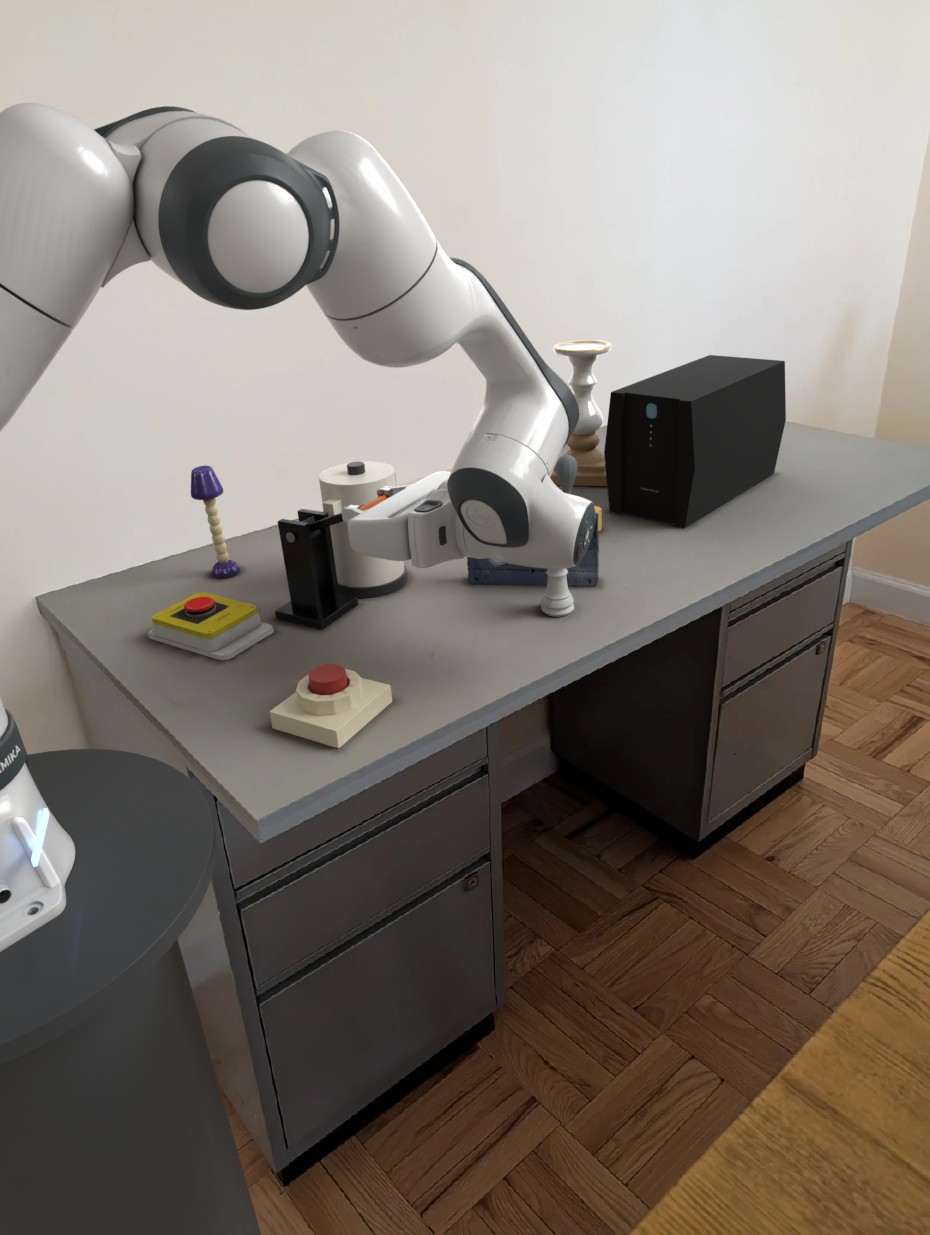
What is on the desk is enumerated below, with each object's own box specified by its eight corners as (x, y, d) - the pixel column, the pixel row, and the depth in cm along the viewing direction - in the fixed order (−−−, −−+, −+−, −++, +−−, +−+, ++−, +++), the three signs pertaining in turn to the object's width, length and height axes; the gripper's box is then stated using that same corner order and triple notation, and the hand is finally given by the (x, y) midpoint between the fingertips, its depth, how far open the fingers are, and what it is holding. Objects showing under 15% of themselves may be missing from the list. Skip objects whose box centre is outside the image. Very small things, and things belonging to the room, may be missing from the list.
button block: (338, 748, 93) (333, 716, 91) (272, 728, 97) (266, 697, 95) (392, 701, 100) (389, 670, 98) (328, 684, 104) (324, 654, 103)
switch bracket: (358, 604, 123) (346, 510, 117) (322, 629, 117) (307, 531, 111) (312, 595, 127) (298, 503, 121) (275, 618, 121) (258, 523, 115)
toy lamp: (228, 581, 134) (206, 473, 126) (202, 578, 135) (179, 472, 128) (245, 568, 137) (225, 463, 130) (220, 565, 139) (199, 462, 132)
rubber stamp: (533, 525, 146) (530, 453, 141) (557, 515, 150) (556, 445, 144) (578, 539, 139) (578, 465, 134) (603, 529, 143) (603, 456, 137)
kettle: (373, 607, 122) (358, 483, 114) (310, 594, 127) (291, 475, 119) (428, 568, 133) (418, 452, 125) (368, 557, 138) (354, 445, 130)
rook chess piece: (566, 620, 115) (565, 563, 112) (535, 614, 117) (533, 558, 114) (580, 606, 119) (579, 550, 115) (549, 600, 121) (548, 545, 117)
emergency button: (192, 580, 123) (271, 600, 116) (198, 609, 125) (277, 630, 118) (137, 607, 117) (218, 630, 109) (145, 637, 119) (225, 661, 111)
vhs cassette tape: (599, 579, 126) (599, 512, 122) (597, 587, 123) (598, 520, 119) (471, 575, 130) (467, 510, 125) (467, 583, 127) (463, 518, 123)
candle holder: (608, 486, 161) (609, 350, 150) (548, 484, 164) (545, 351, 153) (616, 468, 170) (618, 338, 160) (559, 466, 173) (557, 339, 163)
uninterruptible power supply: (603, 510, 150) (604, 391, 141) (702, 458, 172) (708, 352, 163) (691, 529, 140) (698, 402, 131) (784, 472, 162) (795, 359, 153)
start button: (332, 699, 94) (330, 685, 94) (303, 691, 96) (300, 677, 96) (355, 682, 97) (353, 668, 97) (325, 674, 99) (323, 660, 99)
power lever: (391, 507, 112) (383, 489, 111) (363, 523, 107) (355, 504, 107) (315, 532, 120) (308, 516, 120) (286, 548, 116) (278, 531, 115)
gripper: (500, 464, 110) (406, 454, 116) (410, 520, 94) (308, 505, 101) (503, 513, 113) (411, 500, 119) (416, 575, 97) (315, 556, 104)
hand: (363, 503), depth 110 cm, fingers closed on power lever, 6 cm apart
